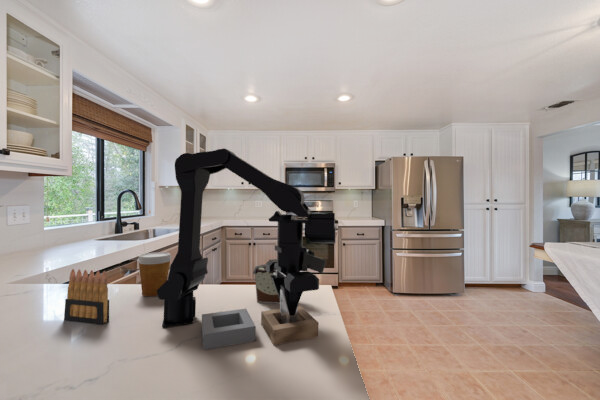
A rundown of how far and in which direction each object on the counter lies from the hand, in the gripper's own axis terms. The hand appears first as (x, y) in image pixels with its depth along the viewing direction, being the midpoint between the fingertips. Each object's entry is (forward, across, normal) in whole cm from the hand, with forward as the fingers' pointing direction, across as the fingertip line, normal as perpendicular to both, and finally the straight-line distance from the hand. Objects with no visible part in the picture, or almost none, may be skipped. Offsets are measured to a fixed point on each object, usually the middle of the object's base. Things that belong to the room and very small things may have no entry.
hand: (288, 311), depth 59 cm
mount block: (+4, 0, 0) cm, 4 cm away
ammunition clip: (+4, +21, +43) cm, 48 cm away
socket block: (+4, +3, +13) cm, 14 cm away
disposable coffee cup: (+4, +38, +31) cm, 49 cm away
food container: (+4, +20, -3) cm, 21 cm away
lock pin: (+4, 0, 0) cm, 4 cm away
